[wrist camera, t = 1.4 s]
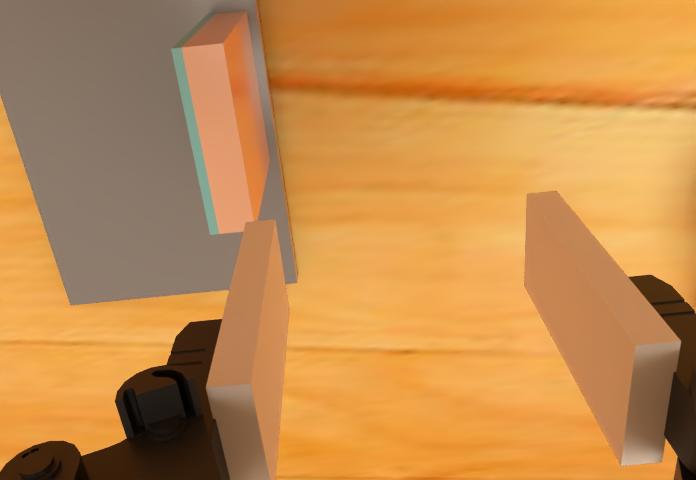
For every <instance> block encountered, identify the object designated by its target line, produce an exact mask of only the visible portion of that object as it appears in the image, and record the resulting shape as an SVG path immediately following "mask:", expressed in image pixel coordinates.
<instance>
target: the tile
mask: <svg viewBox="0 0 696 480" xmlns="http://www.w3.org/2000/svg"><path fill="white" fill-rule="evenodd" d="M171 51H172V55H173V60H174V65H175V70H176V74H177V79H178V84H179V89H180V93H181V98H182V103H183V108H184V113H185V117H186V122H187V127H188V132H189V136H190V141H191V146H192V151H193V155H194V160H195V165H196V170H197V175H198V179H199V184H200V189H201V194H202V198H203V203H204V208H205V213H206V218H207V222H208V227H209V232H210V235H214V234H224V233H234V232H244V227H245V223H246V222H253V221H258V216H259V211H260V206H261V202H262V197H263V192H264V187H265V182H266V177H267V172H268V167H269V163H270V157H269V151H268V145H267V138H266V132H265V125H264V119H263V112H262V106H261V100H260V93H259V87H258V80H257V74H256V67H255V61H254V55H253V48H252V42H251V35H250V29H249V22H248V16H247V11H239V12H230V13H220V14H210V15H207V16H205V17H204V18H203V19H202V20H201V21H200V22H199V23H198V24H197V25H196V26H195V27H194V28H193V29H192V30H191V31H189V32H188V33H187V34H186V35H185V36H184V37H183V38H182V39H181V40H180V41H179V42H178V43H177V44H176V45H174V46H173V47H172V48H171Z"/></svg>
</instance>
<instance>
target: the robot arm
mask: <svg viewBox="0 0 696 480" xmlns="http://www.w3.org/2000/svg"><path fill="white" fill-rule="evenodd" d="M524 286H525V288H526V290H527V292H528V294H529V295H530V297H531V299H532V301H533V303H534V305H535V307H536V308H537V310H538V312H539V314H540V316H541V318H542V320H543V322H544V323H545V325H546V327H547V329H548V331H549V333H550V335H551V336H552V338H553V340H554V342H555V344H556V346H557V348H558V350H559V351H560V353H561V355H562V357H563V359H564V361H565V363H566V364H567V366H568V368H569V370H570V372H571V374H572V376H573V378H574V379H575V381H576V383H577V385H578V387H579V389H580V391H581V392H582V394H583V396H584V398H585V400H586V402H587V404H588V406H589V407H590V409H591V411H592V413H593V415H594V417H595V419H596V420H597V422H598V424H599V426H600V428H601V430H602V432H603V434H604V435H605V437H606V439H607V441H608V443H609V445H610V447H611V448H612V450H613V452H614V454H615V456H616V458H617V460H618V462H619V463H620V465H621V466H627V465H637V464H648V463H658V462H662V458H663V452H664V446H665V439H667V440H668V442H669V443H670V445H671V446H672V448H673V449H674V451H675V453H676V454H677V456H678V458H677V464H676V470H675V475H674V480H696V314H695V311H694V310H693V308H692V307H691V306H690V305H689V304H688V303H687V302H684V299H683V298H682V297H681V295H680V294H679V293H678V292H677V291H676V290H675V289H674V288H673V287H672V286H671V285H669V284H667V283H665V282H664V281H662V280H660V279H658V278H656V277H654V276H652V275H643V276H633V277H628V276H627V275H626V274H625V273H624V272H623V270H622V269H621V268H620V267H619V266H618V264H617V263H616V262H615V261H614V260H613V258H612V257H611V256H610V255H609V254H608V252H607V251H606V250H605V249H604V247H603V246H602V245H601V244H600V243H599V241H598V240H597V239H596V238H595V237H594V235H593V234H592V233H591V232H590V231H589V229H588V228H587V227H586V226H585V225H584V223H583V222H582V221H581V220H580V219H579V217H578V216H577V215H576V214H575V212H574V211H573V210H572V209H571V208H570V206H569V205H568V204H567V203H566V202H565V200H564V199H563V198H562V197H561V196H560V194H559V193H558V192H557V191H550V192H540V193H530V194H527V207H526V242H525V277H524ZM288 320H289V303H288V297H287V291H286V284H285V278H284V272H283V265H282V259H281V253H280V247H279V240H278V234H277V228H276V221H275V219H273V220H263V221H253V222H246V223H245V227H244V232H243V236H242V240H241V244H240V248H239V252H238V256H237V261H236V265H235V269H234V273H233V277H232V281H231V285H230V290H229V294H228V298H227V302H226V306H225V310H224V314H223V319H218V320H207V321H197V322H190V323H189V324H188V325H187V326H186V327H185V328H184V329H183V330H182V331H181V332H180V333H179V334H178V335H177V336H176V339H175V341H174V344H173V347H172V350H171V355H170V356H169V359H168V362H167V365H163V366H158V367H152V368H149V369H147V370H144V371H142V372H139V373H137V374H135V375H134V376H133V377H131V378H130V379H128V380H127V381H125V382H124V384H123V385H122V386H121V387H120V389H119V390H118V391H117V395H116V399H115V403H116V406H117V409H118V412H119V415H120V418H121V421H122V424H123V428H124V431H125V434H126V437H127V439H125V440H123V441H122V442H120V443H118V444H115V445H113V446H110V447H108V448H105V449H102V450H99V451H96V452H93V453H90V454H87V455H83V456H81V454H80V452H79V451H78V449H77V448H76V446H75V445H74V444H71V443H68V442H65V441H48V442H45V443H41V444H38V445H34V446H32V447H30V448H28V449H26V450H24V451H23V452H21V453H19V454H17V455H16V456H15V457H14V458H13V459H11V460H10V461H9V462H8V463H7V464H6V465H5V466H4V467H3V469H2V470H1V472H0V480H276V469H277V457H278V444H279V432H280V419H281V407H282V395H283V382H284V370H285V357H286V345H287V333H288Z"/></svg>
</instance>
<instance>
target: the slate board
mask: <svg viewBox="0 0 696 480" xmlns="http://www.w3.org/2000/svg"><path fill="white" fill-rule="evenodd" d="M239 11H247V16H248V22H249V29H250V35H251V42H252V48H253V55H254V61H255V67H256V74H257V80H258V87H259V93H260V100H261V106H262V112H263V119H264V125H265V132H266V138H267V145H268V151H269V157H270V163H269V167H268V172H267V177H266V182H265V187H264V192H263V197H262V202H261V206H260V211H259V216H258V221H263V220H273V219H275V221H276V228H277V234H278V240H279V247H280V253H281V259H282V265H283V272H284V278H285V284H290V283H297V279H298V273H297V266H296V259H295V253H294V246H293V239H292V232H291V226H290V219H289V212H288V205H287V198H286V192H285V185H284V178H283V171H282V165H281V158H280V151H279V144H278V138H277V131H276V124H275V117H274V110H273V104H272V97H271V90H270V83H269V77H268V70H267V63H266V56H265V49H264V43H263V36H262V29H261V22H260V16H259V9H258V2H257V0H0V95H1V98H2V101H3V104H4V107H5V110H6V113H7V116H8V119H9V122H10V125H11V128H12V131H13V134H14V137H15V140H16V143H17V146H18V149H19V152H20V155H21V158H22V161H23V164H24V167H25V170H26V173H27V176H28V179H29V182H30V185H31V188H32V191H33V194H34V197H35V200H36V203H37V206H38V209H39V212H40V215H41V218H42V221H43V224H44V227H45V230H46V233H47V236H48V239H49V242H50V245H51V248H52V251H53V254H54V257H55V260H56V263H57V266H58V269H59V272H60V275H61V278H62V281H63V284H64V287H65V290H66V293H67V296H68V299H69V302H70V305H79V304H89V303H99V302H109V301H119V300H129V299H139V298H149V297H159V296H169V295H179V294H189V293H199V292H209V291H219V290H229V289H230V285H231V281H232V277H233V273H234V269H235V265H236V261H237V256H238V252H239V248H240V244H241V240H242V236H243V232H234V233H224V234H214V235H210V232H209V227H208V222H207V218H206V213H205V208H204V203H203V198H202V194H201V189H200V184H199V179H198V175H197V170H196V165H195V160H194V155H193V151H192V146H191V141H190V136H189V132H188V127H187V122H186V117H185V113H184V108H183V103H182V98H181V93H180V89H179V84H178V79H177V74H176V70H175V65H174V60H173V55H172V51H171V48H172V47H173V46H174V45H176V44H177V43H178V42H179V41H180V40H181V39H182V38H183V37H184V36H185V35H186V34H187V33H188V32H189V31H191V30H192V29H193V28H194V27H195V26H196V25H197V24H198V23H199V22H200V21H201V20H202V19H203V18H204V17H205V16H207V15H210V14H220V13H230V12H239Z"/></svg>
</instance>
